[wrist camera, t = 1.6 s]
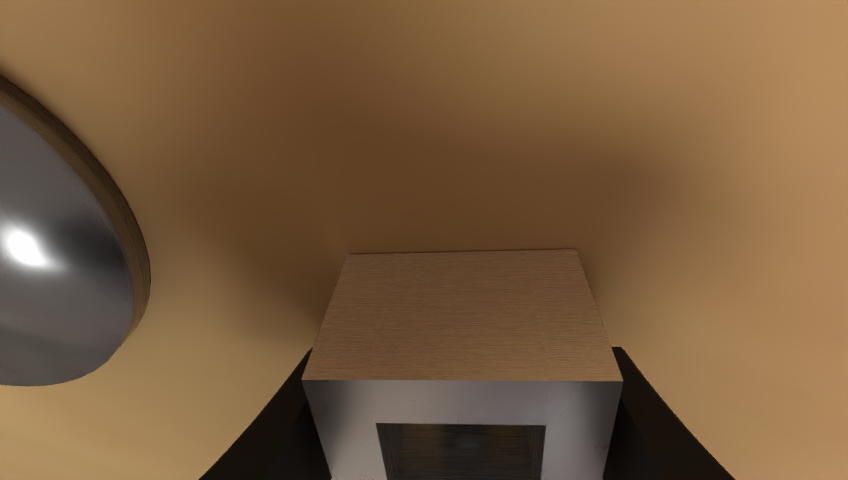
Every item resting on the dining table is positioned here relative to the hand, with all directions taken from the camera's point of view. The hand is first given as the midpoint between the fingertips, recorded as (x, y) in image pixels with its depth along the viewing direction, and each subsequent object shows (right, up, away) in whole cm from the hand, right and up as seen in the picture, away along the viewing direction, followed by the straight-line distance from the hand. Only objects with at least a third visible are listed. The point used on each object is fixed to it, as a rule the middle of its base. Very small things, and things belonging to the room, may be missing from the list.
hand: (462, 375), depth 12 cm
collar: (0, +1, +1) cm, 1 cm away
